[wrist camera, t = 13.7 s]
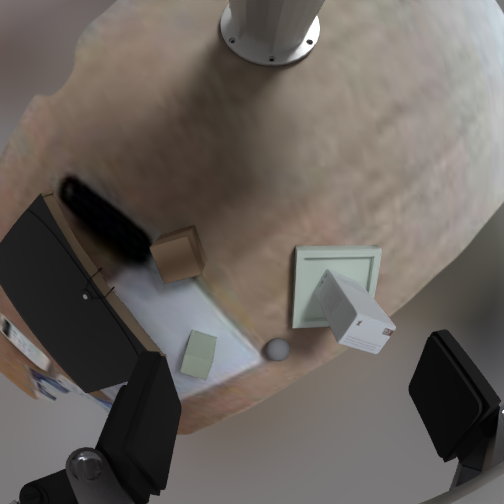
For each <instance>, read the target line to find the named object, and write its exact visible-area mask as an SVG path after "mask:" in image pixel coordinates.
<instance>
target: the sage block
mask: <svg viewBox="0 0 504 504" xmlns="http://www.w3.org/2000/svg"><path fill="white" fill-rule="evenodd" d="M216 339H217V337H215V336H211V335H208V334H205V333H201V332H198V331H195V330H192V332H191V335H190V339H189V342H188V346H187V349H186V352H185V356H184V359H183V363H182V367H181V370H180V373H184V374H187V375H190V376H194V377H197V378H201V379H204V380H206V379H207V376H208V373H209V371H210V368H211V365H212V363H213V357H214V351H215V345H216Z"/></svg>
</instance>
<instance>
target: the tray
mask: <svg viewBox="0 0 504 504" xmlns="http://www.w3.org/2000/svg"><path fill="white" fill-rule="evenodd" d="M381 252H382V249H381V248H380V247H378V246H377V245H346V246H295V262H294V284H293V302H292V318H291V323H292V327H293V328H311V327H328V326H329V323H328V321H327V319H326V317H325V315H324V313H323V311H322V308H321V306H320V304H319V302H318V300H317V298H316V296H315V294H314V291H315V289H316V288H317V286H318V284H319V282H320V281H321V279H322V277H323V276H324V274H325V272H326V271H327V269H330V270H332V271H334V272H337V273H339V274H341V275H343V276H346V277H348V278H350V279H353V280H355V281H357V282H359V283H361V284H362V286H363V287H364V288H365V289H366V290H367V292H368V293H369V294H370V295H371V297H372V298H373V299H374V295H375V290H376V284H377V278H378V272H379V266H380V259H381Z"/></svg>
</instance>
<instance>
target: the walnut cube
mask: <svg viewBox="0 0 504 504" xmlns="http://www.w3.org/2000/svg"><path fill="white" fill-rule="evenodd" d="M150 250H151V253H152V255H153V258H154V260H155V263H156V265H157V268H158V270H159V272H160V275H161V277H162V279H163V282H164V284H166V283H170V282H174V281H178V280H182V279H186V278H189V277H193V276H197V275H201V273H202V270H203V268H204V265H205V262H206V260H207V259H206V256H205V254H204V251H203V248H202V245H201V242H200V239H199V237H198V234H197V231H196V228H195V225H194V226H191V227H187V228H184V229H181V230H178V231H174V232H171V233H168V234H165V235H162V236H160V237H159V238H158V239H157V240H156V241H155V242H154V243H153V245H152V246H151V247H150Z"/></svg>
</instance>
